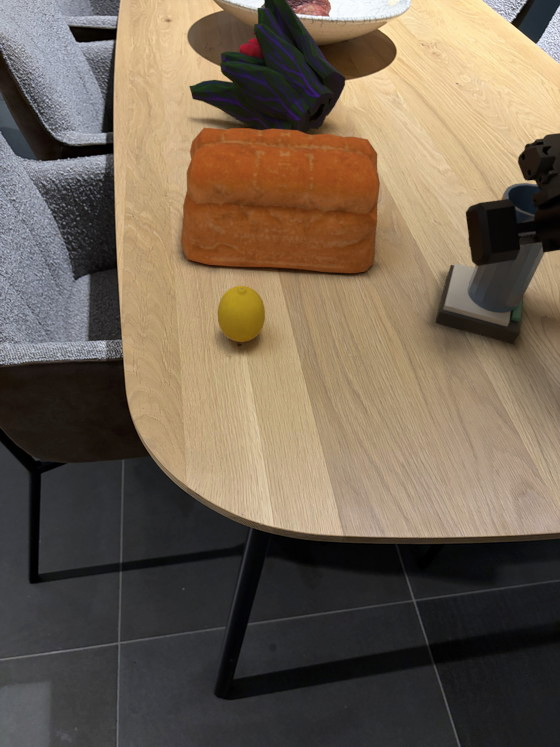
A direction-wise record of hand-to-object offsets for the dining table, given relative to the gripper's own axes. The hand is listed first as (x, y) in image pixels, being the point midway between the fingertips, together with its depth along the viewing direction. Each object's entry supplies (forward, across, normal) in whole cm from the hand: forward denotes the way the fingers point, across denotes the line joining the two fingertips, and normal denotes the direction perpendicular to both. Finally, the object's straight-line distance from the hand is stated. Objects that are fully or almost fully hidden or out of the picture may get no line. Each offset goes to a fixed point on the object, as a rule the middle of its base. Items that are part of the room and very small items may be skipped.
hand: (504, 236), depth 72 cm
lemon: (+9, +32, +7) cm, 34 cm away
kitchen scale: (+7, 0, +8) cm, 11 cm away
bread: (+21, +22, -5) cm, 31 cm away
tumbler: (+5, -1, +7) cm, 8 cm away
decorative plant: (+46, +14, -31) cm, 57 cm away
